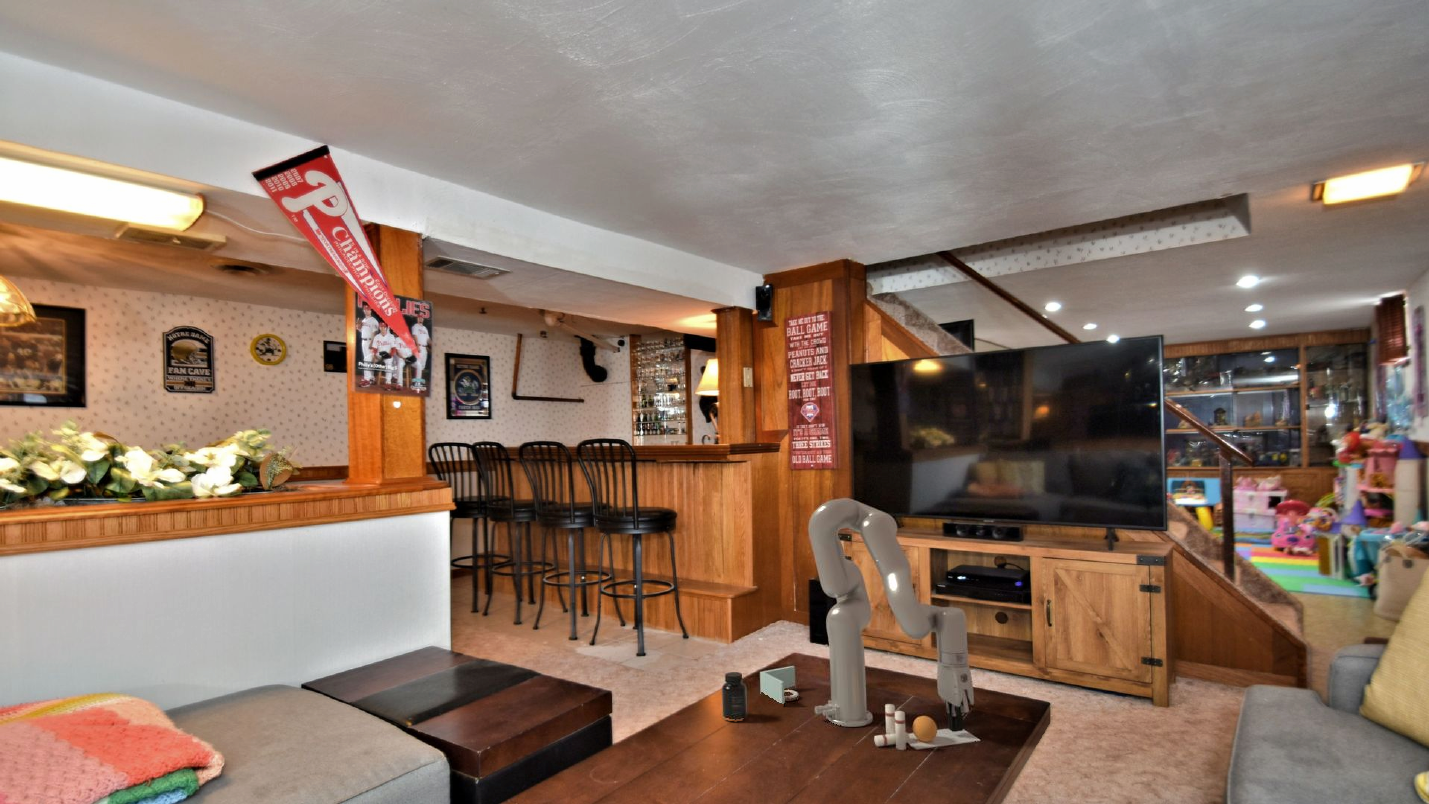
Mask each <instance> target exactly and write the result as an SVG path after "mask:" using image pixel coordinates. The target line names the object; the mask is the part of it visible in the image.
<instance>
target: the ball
mask: <svg viewBox="0 0 1429 804" xmlns="http://www.w3.org/2000/svg"><path fill="white" fill-rule="evenodd" d="M937 730H938V726H937V723H936V722H935V721H934V720H933V718H931V717H929V716H928V715H921V716H918V717H916V718H915V719H914V721H913V724H912V731H913V732H912V733H914V735H915V736H916V737H917V738H918V739H919V740H921V741H923V742H930V741H932V740H933V739H934V738H935V737H936V735H937Z"/></svg>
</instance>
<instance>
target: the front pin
mask: <svg viewBox="0 0 1429 804" xmlns="http://www.w3.org/2000/svg"><path fill="white" fill-rule="evenodd" d="M905 732H906V744H908V743H909V741H910V737H909V734H910V733H908V732H907V731H905ZM873 741H874V744H875V746H876V747H885V746H893V745H896V733H895V734H887V735H886V734H879V735H874V738H873Z"/></svg>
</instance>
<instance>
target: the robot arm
mask: <svg viewBox="0 0 1429 804" xmlns="http://www.w3.org/2000/svg"><path fill="white" fill-rule="evenodd" d="M843 529H850V530H852V531H854V532H857V534H858V533H859V534H860V537H861V539H862V542H863V544H864V546H865V547H866V549H867V551H868V553H869V555H870V557H871V559H872V561H873V562H874V565H875V567H876V568H877V572H878V573H879V576H881V581H882V587H883V589H884V592H885V595H886V599H887V602H888V604H889V607H890V609H891V612H892V613H893V616H894V618H895V619H896V622H897V624H898V625H899V627H900V629H901V630H902V631H903V633H904V634H905V635H906V636H908V638H910V639H912V640H923V639H925V638H926V637H928V635H930V634H931V633H936V650H937V651H936V653H937V670H936V671H937V674H936V675H937V676H936V679H937V680H936V682H937V686H936V687H937V694H938V696H939V697H940V699H941V700H942V702H943V703H944V704H945V709H946V713H947V722H948V729H949V730H951V731H952V732H957V731H963V729H964V720H963V718H964V717H963V716H964V715H965V714H966V713H969V712H970V710H969V706H973V705H974V704H975V698H974V687H973V684H974V683H973V678H972V672H971V668H970V665H969V652H968V635H967V634H968V633H967V632H968V631H967V617H966V615H967V614H966V613H965V610H964V609H962V608H960V607H959V608H958V607H956V606H955V607H953V606H943V607H942V606H938V605H933V604H928V603H920V602H919V600H918V599H917V596H916V593H915V591H914V588H913V583H912V567H911V563H910V561H909V558H908V557H907V555H906V554H905V552H904V550H903V548H902V546H901V544H900V542H899V540H898V538H897V536H896V535H897V533H898V525H897V523H896V520H895V518H894V517H893V516H892V515H890V514H889V513H887V512H884V511H882V510H879V509H877V508H875V507H872V506H870V505H868V504H865V503H862V502H860V501H857V500H854V499H852V498H847V497H841V498H836V499H832V500H829V501H826V502H824V503H822V504H821V505H819V507H817V508H816V509H815V510H814V512H813V513H812V514H811V516H810V518H809V522H808V537H809V541H810V545H811V547H812V552H813V557H814V561H815V566H816V570H817V574H818V578H819V582H820V586H821V588H822V591H823V592H824V594H826V595H827V596H828V597H830V598H834V599H836V602H837V603H836V604H834V605H833V606H832V607H831V608H830V609H829V611H828V613H827V615H826V619H825V620H826V621H825V624H826V633H827V637H828V639H827V640H828V646H829V647H828V649H829V668H830V669H829V670H830V695H831V696H830V699H828V700H827V703H826V704H825V705H818V706H817V705H816V706H814V713H815V715H817V714H818V715H819V714H823V717H824V716H825V718H826V720H827V719H828V720H829V721H831V722H832V723H831V722H830V723H831V724H833V723H834V724H833V725H836V724H837V725H836V726H840V725H841V726H842V727H847V728H848V727H849V728H850V727H851V728H852V727H853V728H855V727H864V726H867V725H869V724H871V723H872V722H873V720H874V719H873V718H874V717H873V714H872V712H870V711H869V710H867V687H866V686H867V685H866V683H867V682H866V661H865V660H866V659H865V648H864V641H863V635H862V631H863V630H864V629H865V628H866V627H868V625H869V624H870V622H871V620H872V616H873V615H872V614H873V613H872V606H871V601H870V599H869V598H870V597H869V595H868V591H867V587H866V583H865V580H864V575H863V574H862V571H861V569H860V567H859V566H858V565H857V564H856V563H855V562H854V561H852V560H850V559H846V555H845V551H844V547H843V543H842V541H841V540H840V537H839V531H840V530H843ZM828 720H827V721H828ZM829 721H828V722H829ZM841 726H840V727H841Z"/></svg>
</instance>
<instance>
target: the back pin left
mask: <svg viewBox="0 0 1429 804" xmlns="http://www.w3.org/2000/svg"><path fill="white" fill-rule="evenodd" d="M884 708H885V709H884V710H885V713H884V714H885V731H886V732H885V735H887V734H895V733H896V731H895V711H896V706H895V705H894V704H892V703H887V704H885V705H884Z"/></svg>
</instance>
